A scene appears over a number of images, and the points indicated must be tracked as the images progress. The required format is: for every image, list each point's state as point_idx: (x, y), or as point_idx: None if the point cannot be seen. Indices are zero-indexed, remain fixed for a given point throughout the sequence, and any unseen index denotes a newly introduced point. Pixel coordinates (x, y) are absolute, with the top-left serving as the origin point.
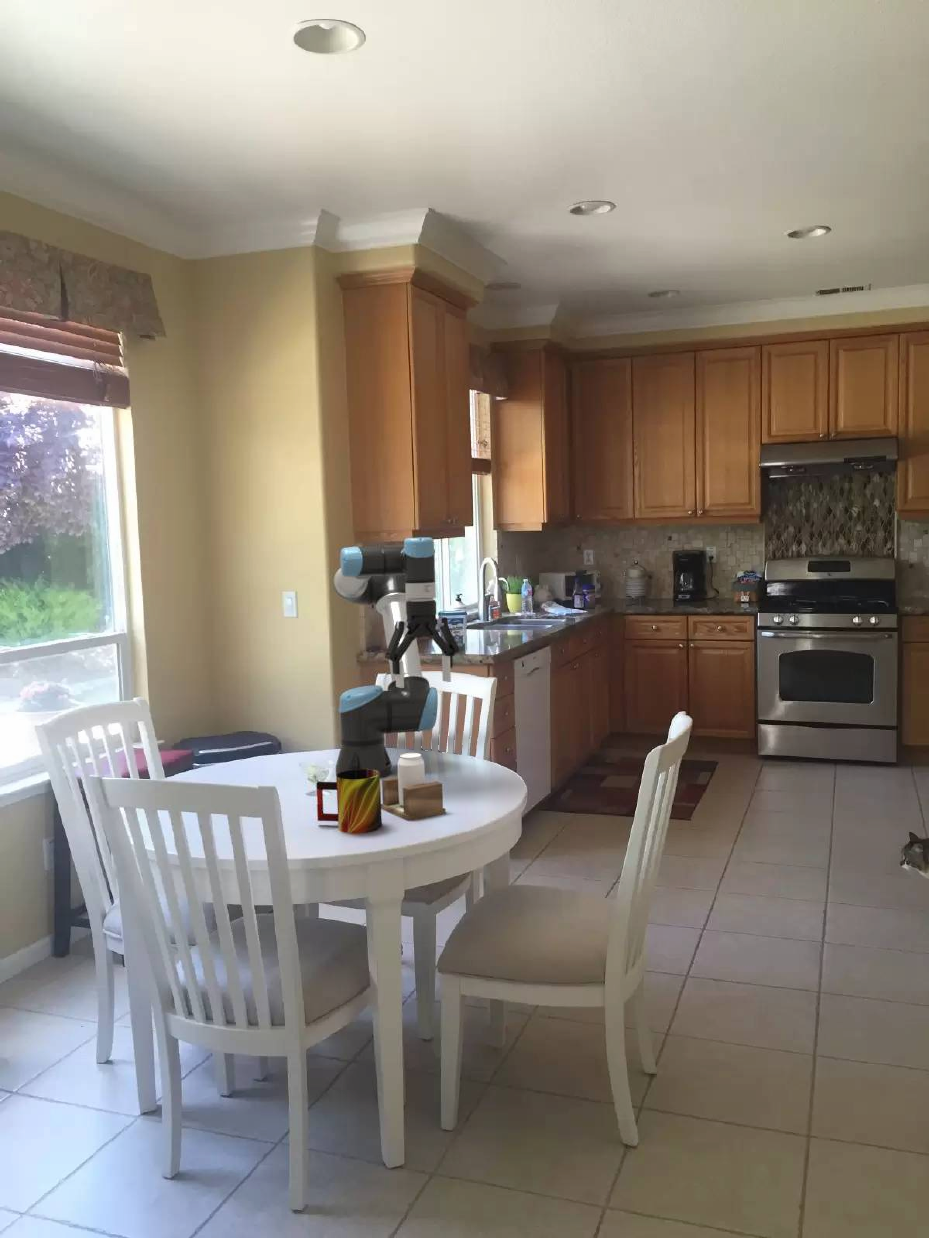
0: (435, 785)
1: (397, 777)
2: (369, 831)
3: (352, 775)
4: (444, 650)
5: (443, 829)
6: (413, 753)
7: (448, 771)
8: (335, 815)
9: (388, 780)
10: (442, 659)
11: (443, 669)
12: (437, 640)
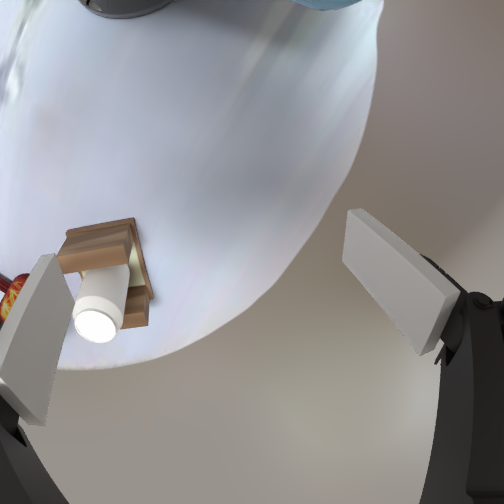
0: (135, 326)
1: (84, 258)
2: None
3: (3, 319)
4: (451, 366)
5: (129, 347)
6: (104, 314)
7: (292, 46)
8: (2, 290)
9: (65, 270)
10: (424, 286)
11: (383, 254)
12: (427, 484)
